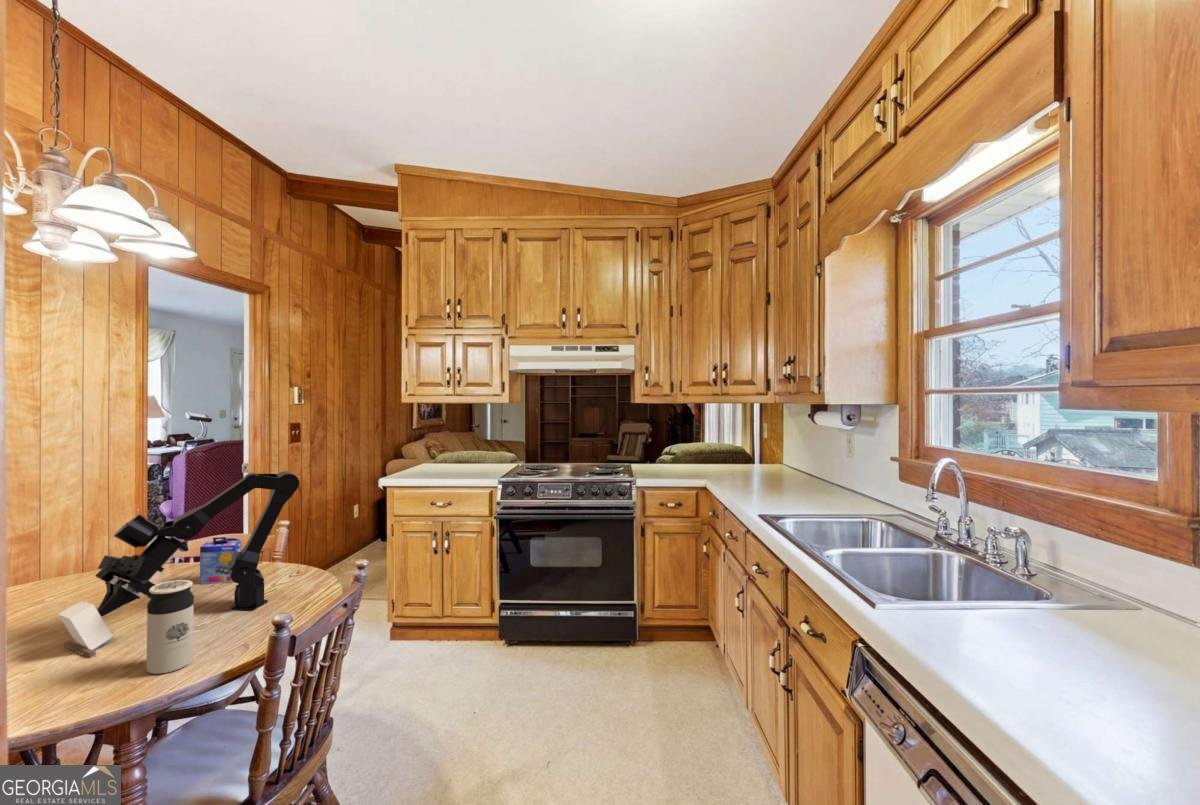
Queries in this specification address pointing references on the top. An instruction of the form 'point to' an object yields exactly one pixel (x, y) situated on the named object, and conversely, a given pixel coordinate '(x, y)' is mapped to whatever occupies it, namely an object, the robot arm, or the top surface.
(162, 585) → the beige jar
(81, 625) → the plain white block
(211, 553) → the ink cartridge box
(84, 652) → the strip
